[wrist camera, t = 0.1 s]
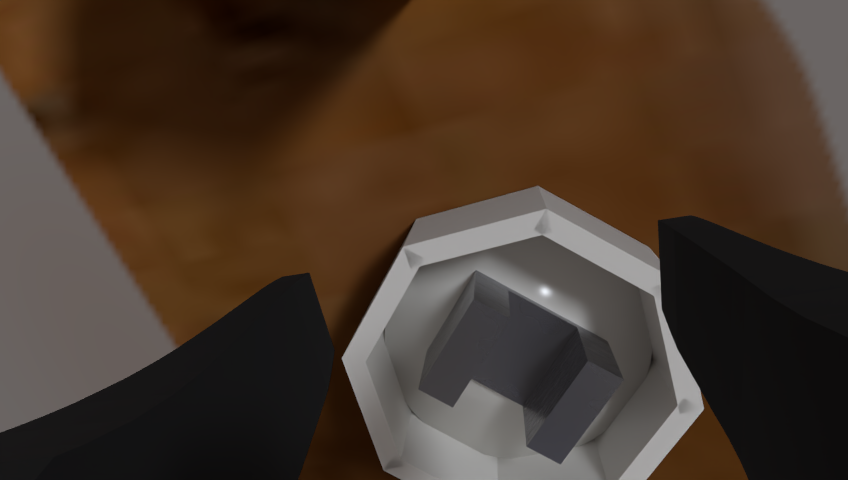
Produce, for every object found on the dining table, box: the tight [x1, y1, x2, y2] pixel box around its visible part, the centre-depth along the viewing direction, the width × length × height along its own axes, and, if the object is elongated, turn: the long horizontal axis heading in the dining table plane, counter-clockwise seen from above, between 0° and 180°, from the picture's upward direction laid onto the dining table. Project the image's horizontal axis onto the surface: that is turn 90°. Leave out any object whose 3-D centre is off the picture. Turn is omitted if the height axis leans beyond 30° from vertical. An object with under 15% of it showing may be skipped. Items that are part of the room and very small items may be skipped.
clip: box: [418, 270, 624, 465], centre depth 22 cm, size 4×6×3 cm
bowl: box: [342, 186, 704, 480], centre depth 22 cm, size 12×12×4 cm
